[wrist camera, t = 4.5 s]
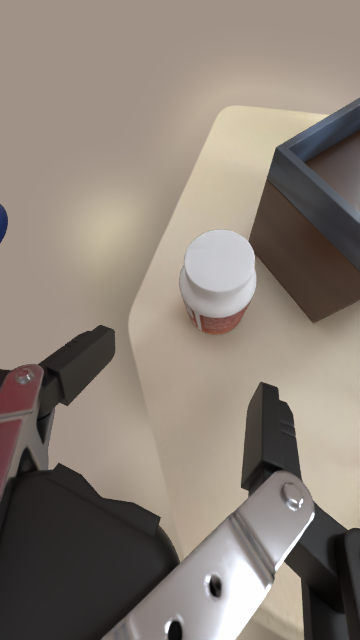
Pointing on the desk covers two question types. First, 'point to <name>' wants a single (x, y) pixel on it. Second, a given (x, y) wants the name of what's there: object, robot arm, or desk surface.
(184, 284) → the pill bottle
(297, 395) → the desk surface
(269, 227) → the cube pen cup
